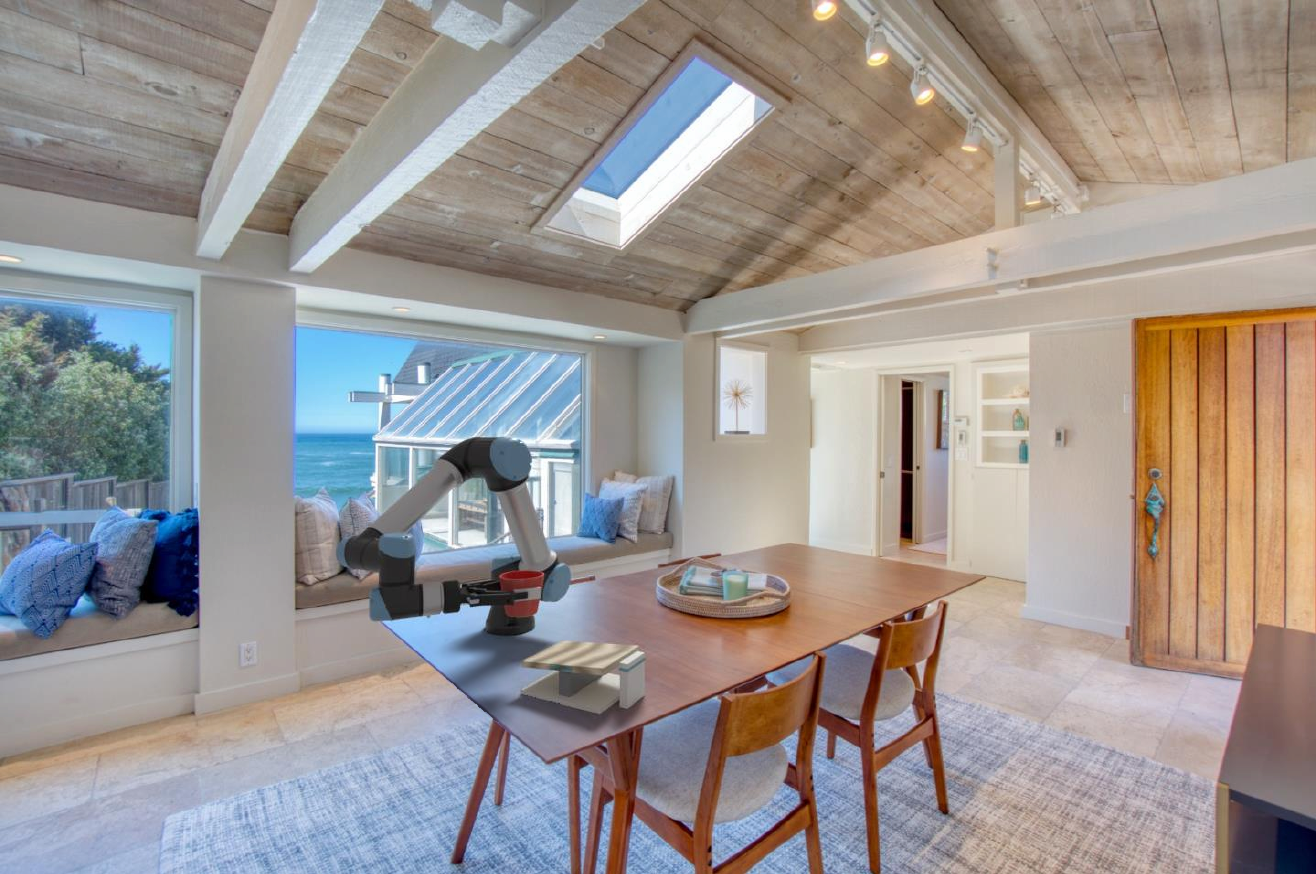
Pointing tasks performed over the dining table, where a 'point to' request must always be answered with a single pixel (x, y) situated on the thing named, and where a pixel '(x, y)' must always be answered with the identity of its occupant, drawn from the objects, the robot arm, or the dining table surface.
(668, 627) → the dining table surface
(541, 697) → the stand
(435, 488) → the robot arm
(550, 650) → the plate
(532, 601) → the flower pot
